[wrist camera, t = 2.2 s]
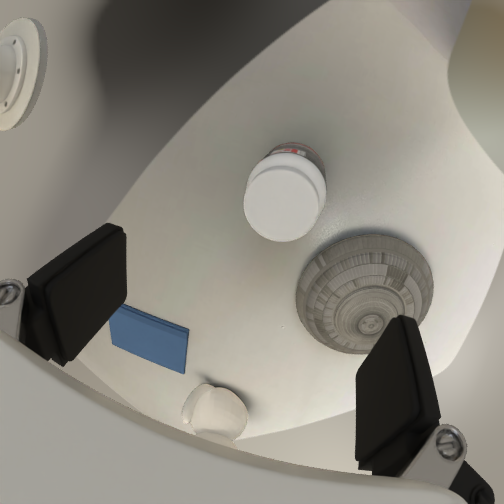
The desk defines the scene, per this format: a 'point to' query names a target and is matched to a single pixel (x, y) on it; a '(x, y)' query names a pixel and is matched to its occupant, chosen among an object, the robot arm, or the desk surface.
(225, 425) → the cat figurine
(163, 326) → the cloth
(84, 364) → the desk surface
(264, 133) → the desk surface
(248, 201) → the pill bottle
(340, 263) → the flying saucer
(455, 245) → the desk surface
